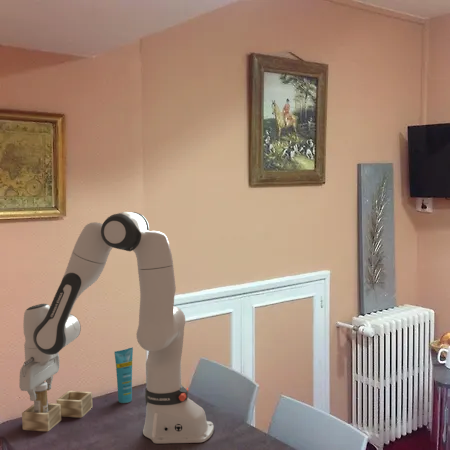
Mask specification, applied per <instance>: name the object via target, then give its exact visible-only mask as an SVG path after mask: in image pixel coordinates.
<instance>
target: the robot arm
mask: <svg viewBox="0 0 450 450" xmlns="http://www.w3.org/2000/svg"><path fill="white" fill-rule="evenodd" d="M112 249H116V250H117V249H118V250H122V251H127V252H134V254H135V257H136V262H137V272H138V273H137V274H138V282H139V291H140V292H139V294H140V295H139V296H140V298H139V310H138V311H139V312H138V313H139V314H138V326H137V330H136V339H137V343H138V345H139V346H140V347H141V348H142V349H144V350H145V351H148V354H147V358H146V361H145V362H146V363H145V379H146V380H145V381H146V384H145V385H146V387H145V391H144V400H145V406H146V410H145V418H144V419H145V420H144V426H143V430H142V434H143V436H145V437H146V438H148V439H149V440H151V442H153V444H189V443H190V444H192V443H197V444H198V443H203V442H206V441H207V440H209V439H210V438H211V437H212V435H213V434H214V430H215V427H214V423H213V422H212V421H209V420H207V416H206V412H205V410H204V408H203V407H202V406H200V405H199V404H197V403H196V402H195V401H193V400H192V399H190V397H189V393H188V392H189V387H186V388H185V387H184V386H183V385H182V355H183V354H182V353H183V346H184V335H185V325H186V317H185V314H184V312H183V310H182V309H181V308H179V307H178V306H175V294H176V291H177V289H176V280H175V268H174V261H173V254H172V249H171V246H170V242H169V239H168V237H167V235H166V234H165V233H164V232H161V231H157V230H151V231H150V225H149V221H148V220H147V218H146V217H145V216H144V215H143V214H141V213H139V212H135V211H131V212H129V211H121V212H118V213H113V214H112V215H110V216H108V217H107V218H106V219H105V220H104V222H103V223H102V222H101V223H100V222H97V221H96V222H89V223H87V224H86V225H84V227H83V229H82V231H80V234H79V236H78V238H77V239H76V242H75V244H74V246H73V249H72V251H71V255H70V258H69V261H68V263H67V267H66V269H65V272H64V275H63V276H62V279H61V281H60V284H59V286H58V288H57V290H56V292H55V295H54V297H53V300H52V302H51V304H50V305H49V304H48V303H38V304H35V305H32V306H30V307H27V308H26V310H25V311H24V313H23V335H24V339H25V340H24V341H25V342H24V344H23V345H24V362H23V365H22V366H21V368H20V369H19V370H20V371H19V383H18V384H19V389H20V391H21V392H22V391H23V392H27V393H28V395H29V401H30V402H34V401H35V400H36V399H37V394H36V393H35V390H36V389H35V387H37V386H38V385H40V384H41V383H43V382H46V383H47V387H48V388H47V392H48V391H50V390H51V389H52V382H53V378H54V375H56V374H57V373H59V370H60V354H59V353H60V351H62V349H64V348H65V347H67V346H68V345H70V344H71V343H72V342H74V340H76V339H77V338H78V337H79V335H80V333H81V330H82V327H81V323H80V321H79V319H78V317H77V316H75V315H74V314H71V312H72V310H73V308H74V306H75V303H76V301H77V300H78V298H79V297H80V295H82V294H83V292H85V291H86V290H87V289H88V288H89V287H90V286H92V285H93V284H95V283H96V282H98V281H97V280H98V279H99V278H100V276H101V274H102V273H103V271H104V269H105V266H106V264H107V261H108V259H109V256H110V252H112Z"/></svg>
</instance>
